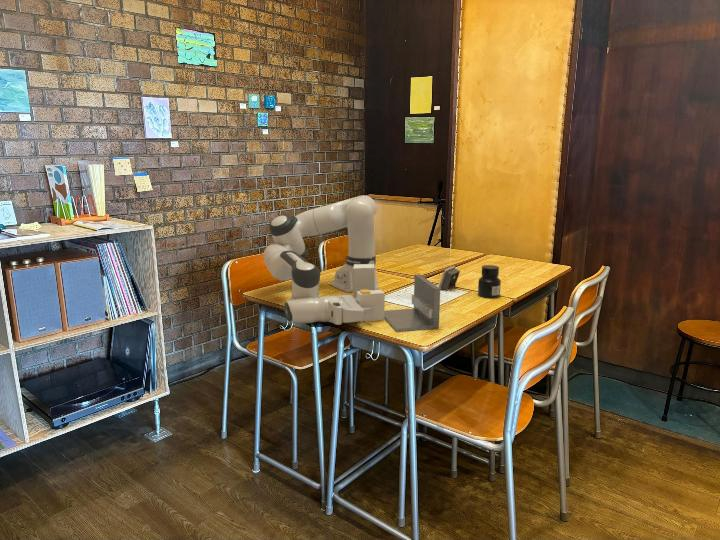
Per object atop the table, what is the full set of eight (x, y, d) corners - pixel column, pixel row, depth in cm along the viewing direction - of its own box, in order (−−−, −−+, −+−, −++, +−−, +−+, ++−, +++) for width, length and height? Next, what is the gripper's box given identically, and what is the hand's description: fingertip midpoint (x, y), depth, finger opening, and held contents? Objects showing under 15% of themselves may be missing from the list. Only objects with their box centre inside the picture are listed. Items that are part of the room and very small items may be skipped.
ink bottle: (498, 299, 219) (500, 270, 216) (476, 297, 222) (477, 268, 219) (501, 293, 228) (503, 265, 225) (479, 291, 231) (481, 263, 228)
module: (359, 322, 193) (359, 293, 190) (356, 318, 197) (356, 289, 194) (384, 320, 195) (384, 291, 192) (380, 316, 199) (381, 287, 196)
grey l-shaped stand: (396, 331, 183) (397, 291, 179) (380, 313, 202) (380, 276, 198) (438, 328, 186) (440, 288, 183) (418, 310, 205) (419, 274, 202)
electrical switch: (447, 285, 241) (450, 264, 238) (458, 288, 238) (461, 267, 235) (437, 289, 233) (440, 269, 231) (448, 293, 231) (451, 271, 228)
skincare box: (375, 302, 215) (375, 263, 212) (375, 307, 209) (375, 267, 205) (353, 302, 216) (353, 263, 212) (353, 307, 209) (353, 267, 205)
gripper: (326, 308, 202) (363, 305, 205) (338, 326, 182) (378, 323, 186) (326, 291, 200) (363, 289, 203) (337, 308, 181) (378, 305, 184)
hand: (370, 305), depth 194 cm, fingers open, 8 cm apart
